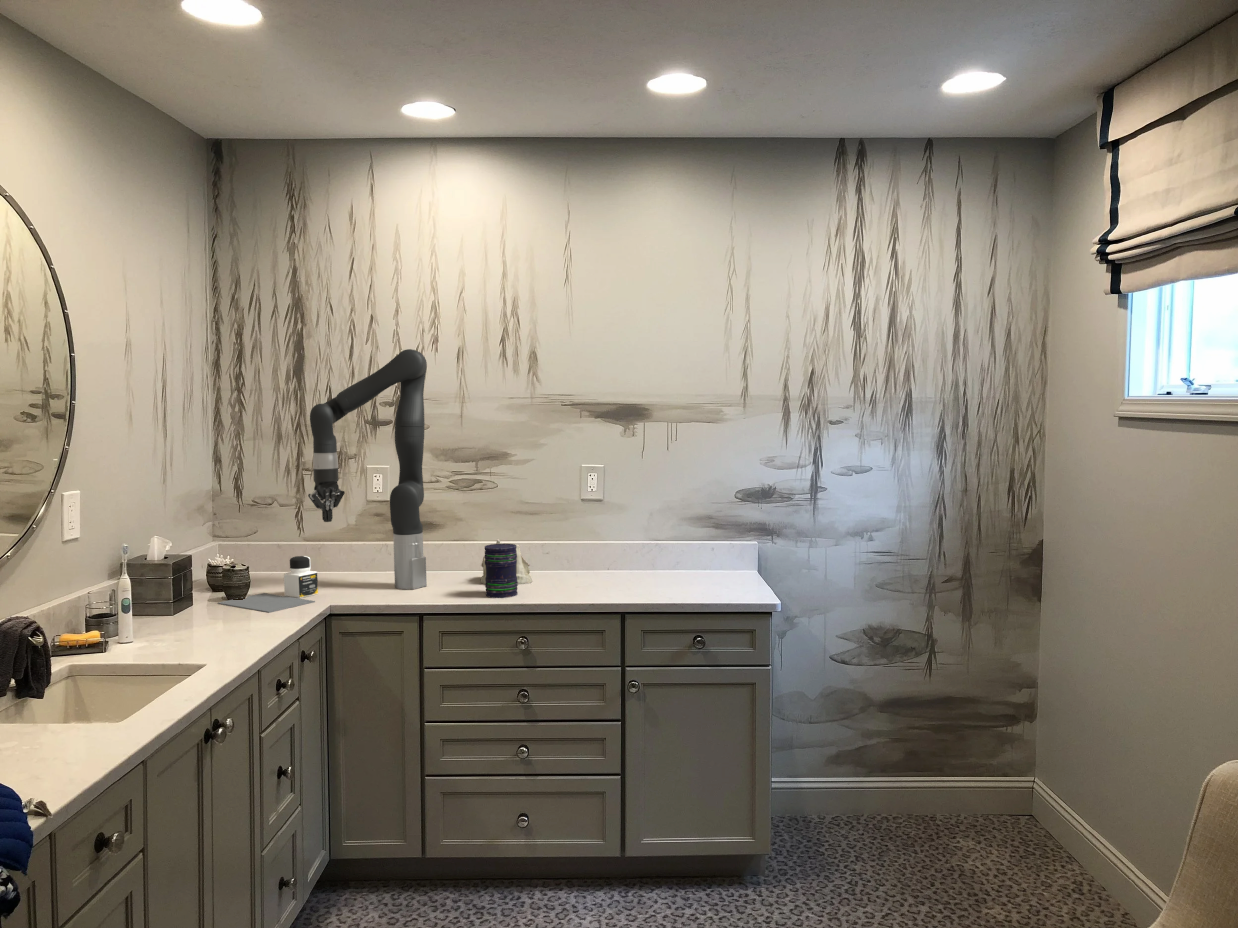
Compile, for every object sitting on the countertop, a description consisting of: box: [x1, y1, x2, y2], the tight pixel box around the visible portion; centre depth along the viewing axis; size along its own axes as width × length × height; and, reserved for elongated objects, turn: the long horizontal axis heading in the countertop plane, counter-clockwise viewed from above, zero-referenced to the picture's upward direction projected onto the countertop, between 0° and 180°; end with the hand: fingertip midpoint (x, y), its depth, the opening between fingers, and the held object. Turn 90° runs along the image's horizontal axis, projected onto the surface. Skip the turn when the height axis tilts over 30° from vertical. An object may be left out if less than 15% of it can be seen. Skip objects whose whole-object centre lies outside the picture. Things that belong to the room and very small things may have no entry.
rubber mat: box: [217, 592, 316, 614], centre depth 281 cm, size 24×16×1 cm, turn 57°
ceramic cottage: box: [480, 538, 534, 586], centre depth 309 cm, size 16×16×15 cm
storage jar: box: [483, 543, 519, 599], centre depth 287 cm, size 10×10×15 cm
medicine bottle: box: [283, 555, 319, 599], centre depth 291 cm, size 7×7×12 cm
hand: (327, 521), depth 299 cm, fingers closed
